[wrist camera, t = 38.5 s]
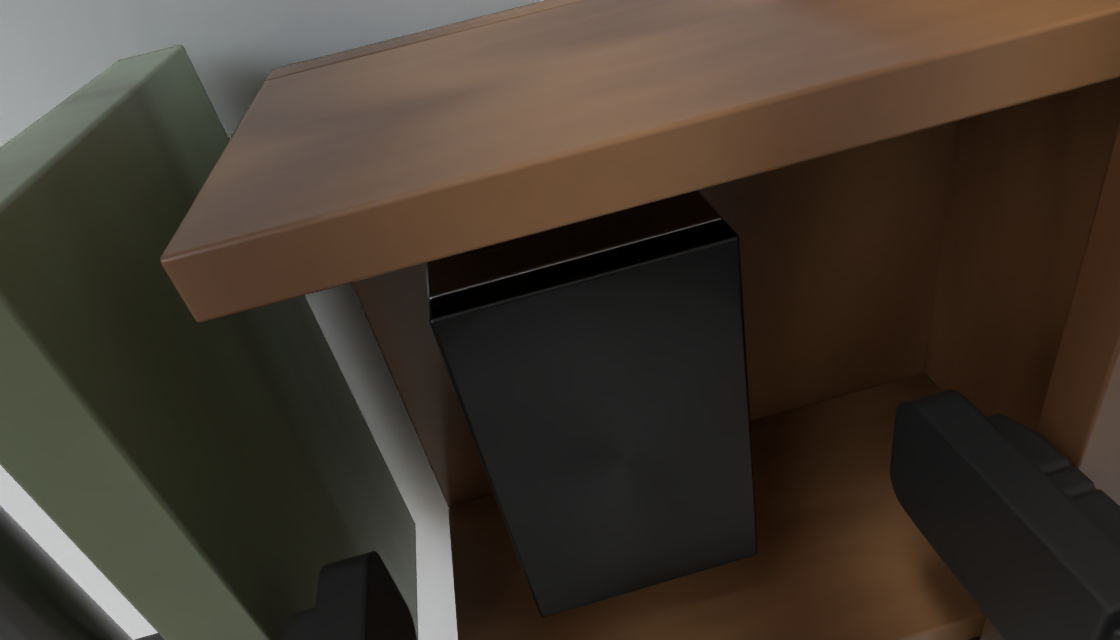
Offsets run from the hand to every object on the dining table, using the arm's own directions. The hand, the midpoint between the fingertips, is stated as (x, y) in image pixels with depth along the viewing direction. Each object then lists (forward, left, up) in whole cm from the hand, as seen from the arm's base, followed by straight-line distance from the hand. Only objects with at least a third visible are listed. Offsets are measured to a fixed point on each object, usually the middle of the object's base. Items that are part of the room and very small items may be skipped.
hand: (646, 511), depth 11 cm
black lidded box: (0, 0, -6) cm, 6 cm away
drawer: (-1, 0, -7) cm, 7 cm away
